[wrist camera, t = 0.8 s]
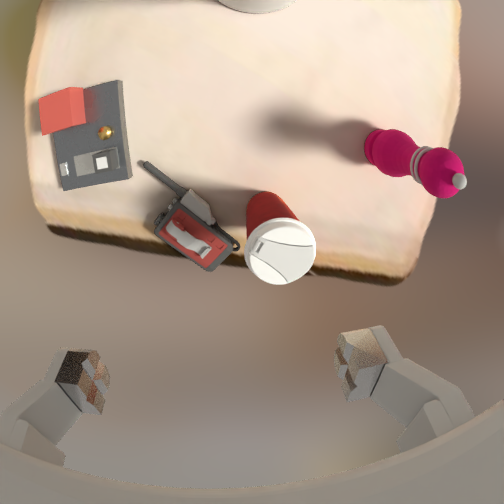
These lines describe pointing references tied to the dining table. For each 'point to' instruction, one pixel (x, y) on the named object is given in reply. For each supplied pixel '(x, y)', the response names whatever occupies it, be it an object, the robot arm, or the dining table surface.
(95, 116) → the panel
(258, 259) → the coffee cup
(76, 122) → the cap
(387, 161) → the pepper mill
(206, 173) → the dining table surface
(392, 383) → the robot arm
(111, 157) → the block
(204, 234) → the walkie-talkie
